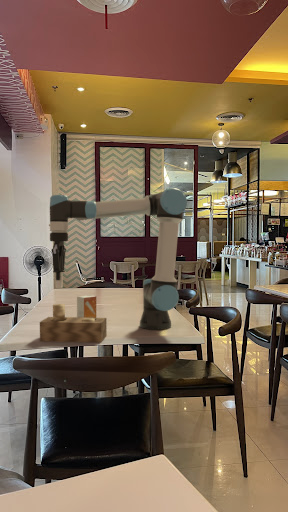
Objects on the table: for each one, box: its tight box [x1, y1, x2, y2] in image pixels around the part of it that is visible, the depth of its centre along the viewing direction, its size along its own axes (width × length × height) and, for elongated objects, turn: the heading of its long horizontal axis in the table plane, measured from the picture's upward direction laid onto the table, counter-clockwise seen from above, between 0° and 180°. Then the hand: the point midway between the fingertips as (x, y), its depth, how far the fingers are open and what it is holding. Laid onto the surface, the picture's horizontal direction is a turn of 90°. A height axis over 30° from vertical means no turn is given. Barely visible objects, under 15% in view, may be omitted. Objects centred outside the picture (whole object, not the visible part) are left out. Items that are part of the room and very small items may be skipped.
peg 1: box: [52, 303, 66, 321], centre depth 172 cm, size 5×5×8 cm
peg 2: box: [83, 318, 95, 322], centre depth 171 cm, size 5×5×8 cm
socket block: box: [39, 316, 108, 343], centre depth 172 cm, size 26×11×8 cm, turn 84°
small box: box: [76, 295, 97, 318], centre depth 207 cm, size 8×6×13 cm
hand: (59, 287), depth 172 cm, fingers closed
